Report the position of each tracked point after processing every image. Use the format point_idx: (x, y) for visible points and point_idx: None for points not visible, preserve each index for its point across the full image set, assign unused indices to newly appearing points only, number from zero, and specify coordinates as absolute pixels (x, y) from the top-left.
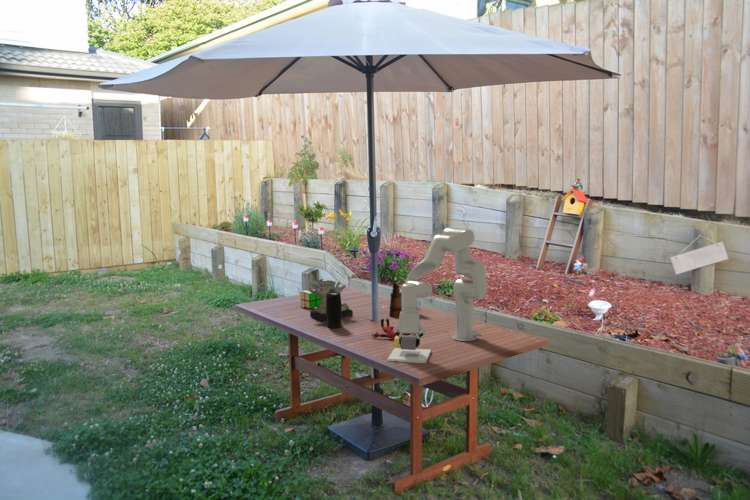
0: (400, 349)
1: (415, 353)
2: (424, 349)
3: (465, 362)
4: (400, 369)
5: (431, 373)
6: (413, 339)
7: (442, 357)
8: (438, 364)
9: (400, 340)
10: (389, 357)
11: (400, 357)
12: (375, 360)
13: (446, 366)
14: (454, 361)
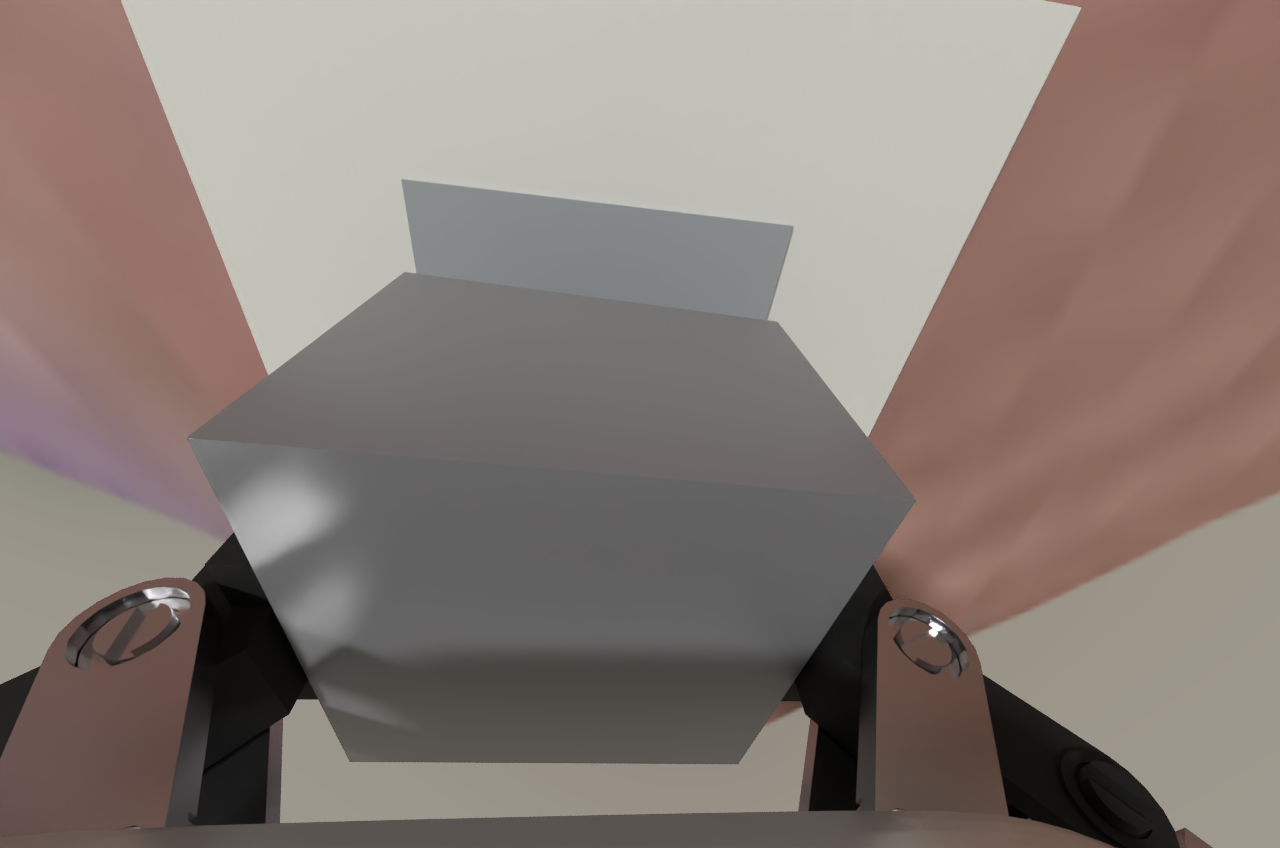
0: (317, 46)
1: None
2: (923, 11)
3: (1218, 507)
4: None
5: (789, 705)
6: (695, 757)
7: (1069, 363)
8: (906, 572)
9: None
10: None
11: None
12: (194, 527)
13: (959, 604)
14: (1123, 489)
